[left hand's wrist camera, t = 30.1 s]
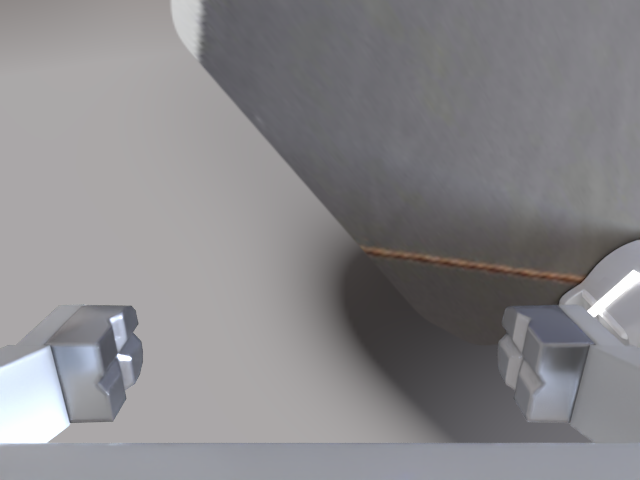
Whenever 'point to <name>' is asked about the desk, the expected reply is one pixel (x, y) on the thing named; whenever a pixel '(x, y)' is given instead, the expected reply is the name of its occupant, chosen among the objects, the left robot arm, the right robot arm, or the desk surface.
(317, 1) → the desk surface
